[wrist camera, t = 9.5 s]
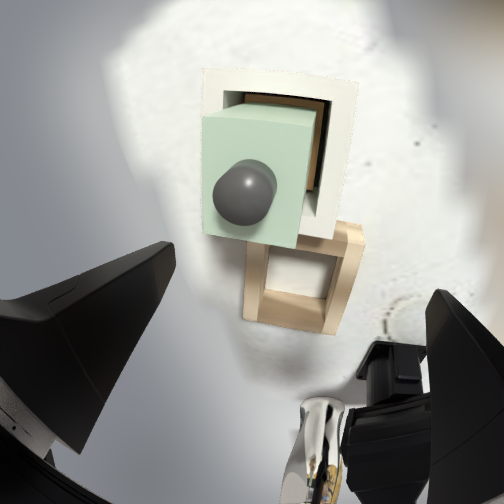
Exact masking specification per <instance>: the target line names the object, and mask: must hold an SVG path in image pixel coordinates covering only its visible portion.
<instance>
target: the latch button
mask: <svg viewBox="0 0 504 504" xmlns="http://www.w3.org/2000/svg"><path fill="white" fill-rule="evenodd" d="M250 101H255V102H267V103H278V104H287V105H295V106H303V107H310V108H317V114H316V122H315V131H314V139H313V147H312V155H311V162H310V170H309V177H308V184H307V190H313V185H314V178H315V171H316V164H317V157H318V150H319V142H320V134H321V126H322V118H323V109H324V102H323V101H316V100H309V99H302V98H294V97H285V96H275V95H263V94H245V103H247V102H250Z"/></svg>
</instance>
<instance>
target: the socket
mask: <svg viewBox="0 0 504 504" xmlns="http://www.w3.org/2000/svg"><path fill="white" fill-rule="evenodd" d="M358 87H359V83H358V82H353V81H348V80H343V79H337V78H331V77H324V76H318V75H310V74H302V73H293V72H283V71H271V70H254V69H202V96H201V140H202V116H204V115H207V114H210V113H214V112H217V111H220V110H223V109H226V108H230V107H233V106H236V105H240V104H243V103H245V94H247V91H250V92H264V93H275V94H285V95H294V96H302V97H310V98H317V99H323V100H330V102H329V111H328V119H327V127H326V135H325V142H324V149H323V157H322V164H321V170H320V177H319V184H318V187H313V190H306V195H305V201H304V206H303V212H302V217H301V222H300V227H299V233H298V234H303V235H309V236H314V237H320V238H326V239H331V240H332V239H333V234H334V230H335V225H336V220H337V215H338V211H339V206H340V201H341V196H342V190H343V185H344V180H345V174H346V169H347V163H348V157H349V151H350V145H351V139H352V132H353V125H354V118H355V111H356V104H357V96H358ZM201 218H202V179H201Z"/></svg>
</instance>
